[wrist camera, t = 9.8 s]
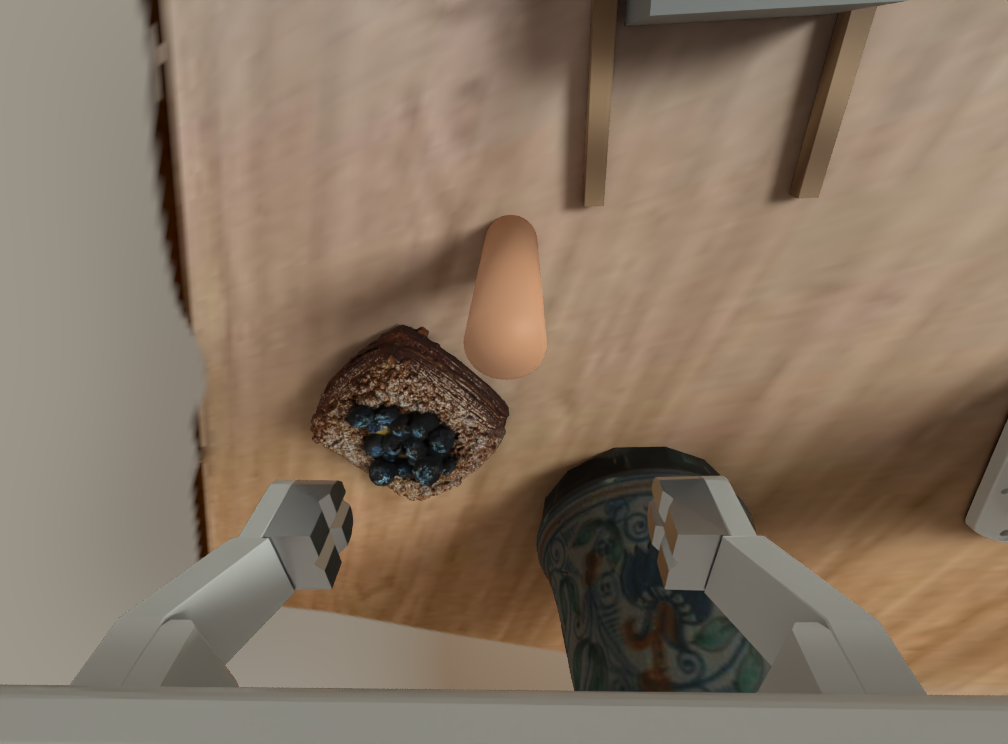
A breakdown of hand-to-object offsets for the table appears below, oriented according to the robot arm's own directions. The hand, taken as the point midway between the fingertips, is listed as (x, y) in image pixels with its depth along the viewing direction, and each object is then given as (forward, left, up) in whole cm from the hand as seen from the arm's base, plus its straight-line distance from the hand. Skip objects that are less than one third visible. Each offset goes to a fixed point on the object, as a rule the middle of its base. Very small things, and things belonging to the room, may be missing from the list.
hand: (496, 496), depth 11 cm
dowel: (0, 0, -19) cm, 19 cm away
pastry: (-12, +7, -20) cm, 24 cm away
